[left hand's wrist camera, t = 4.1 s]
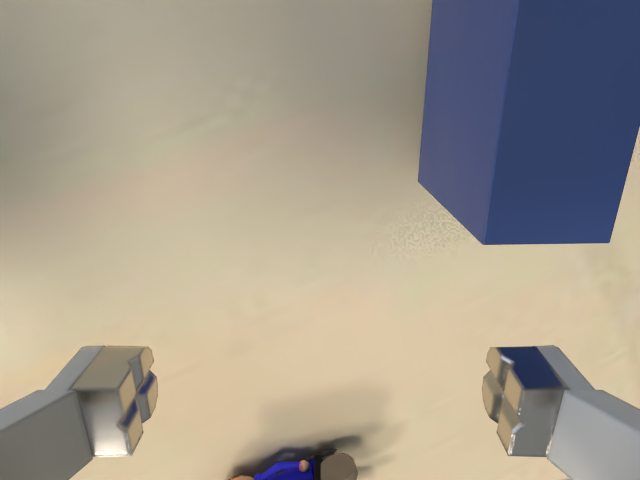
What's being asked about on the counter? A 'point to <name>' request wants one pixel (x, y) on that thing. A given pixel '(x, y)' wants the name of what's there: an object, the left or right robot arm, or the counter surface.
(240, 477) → the figurine character
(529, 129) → the box
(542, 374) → the left robot arm
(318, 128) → the counter surface
